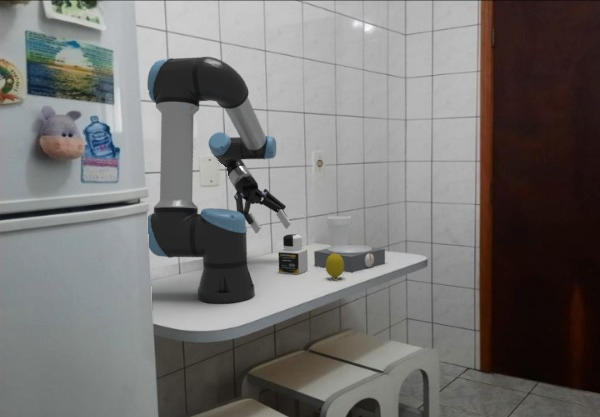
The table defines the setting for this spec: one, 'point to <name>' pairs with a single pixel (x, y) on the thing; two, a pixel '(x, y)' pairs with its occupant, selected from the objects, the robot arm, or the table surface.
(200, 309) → the table surface
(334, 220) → the clear plastic beaker
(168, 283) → the table surface
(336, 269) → the lemon
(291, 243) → the medicine bottle
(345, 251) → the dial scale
